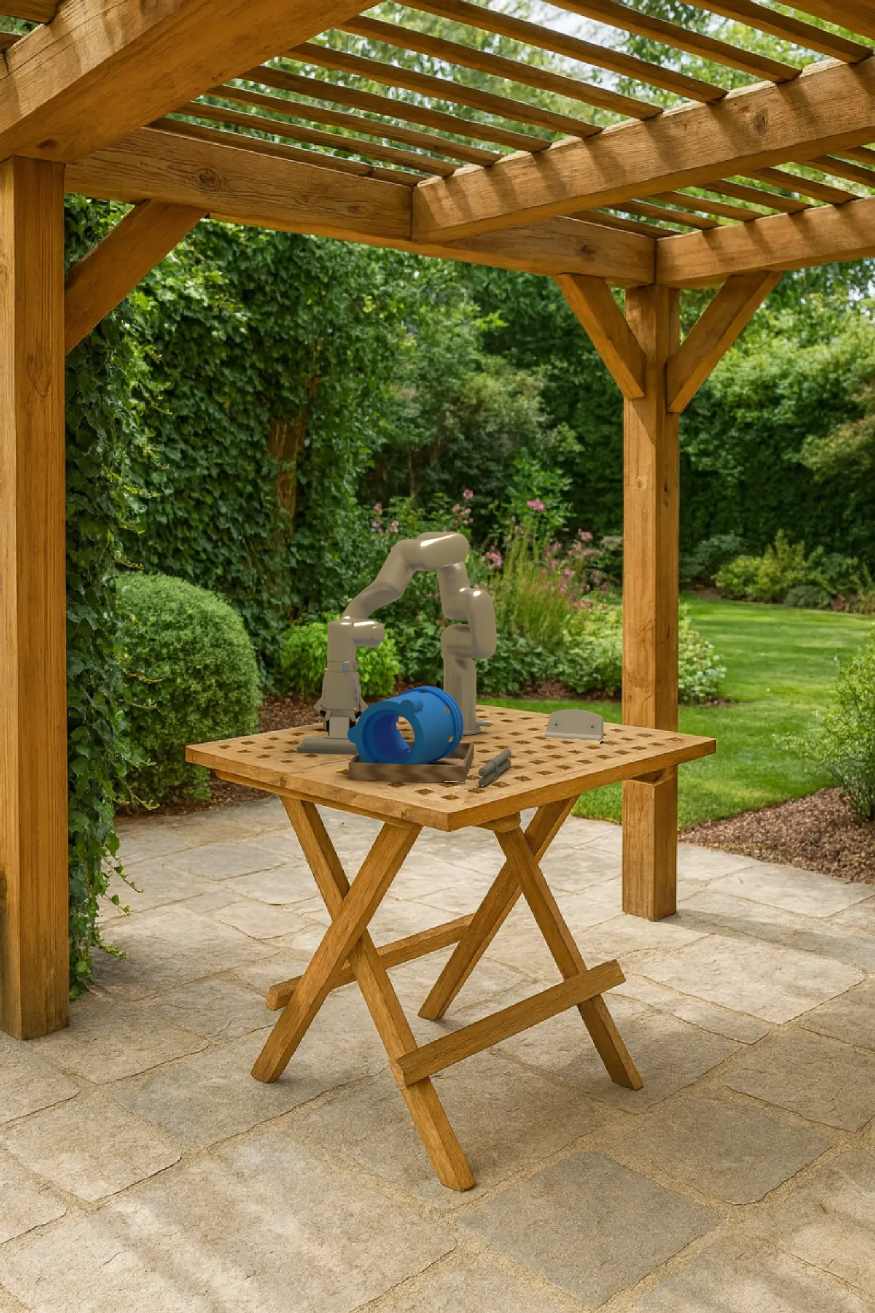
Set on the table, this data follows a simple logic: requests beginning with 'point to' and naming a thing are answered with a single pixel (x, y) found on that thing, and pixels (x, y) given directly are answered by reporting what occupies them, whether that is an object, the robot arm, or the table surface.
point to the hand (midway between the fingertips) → (340, 734)
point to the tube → (427, 720)
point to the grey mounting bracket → (575, 725)
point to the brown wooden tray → (414, 768)
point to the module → (339, 725)
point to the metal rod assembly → (494, 767)
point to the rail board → (326, 749)
